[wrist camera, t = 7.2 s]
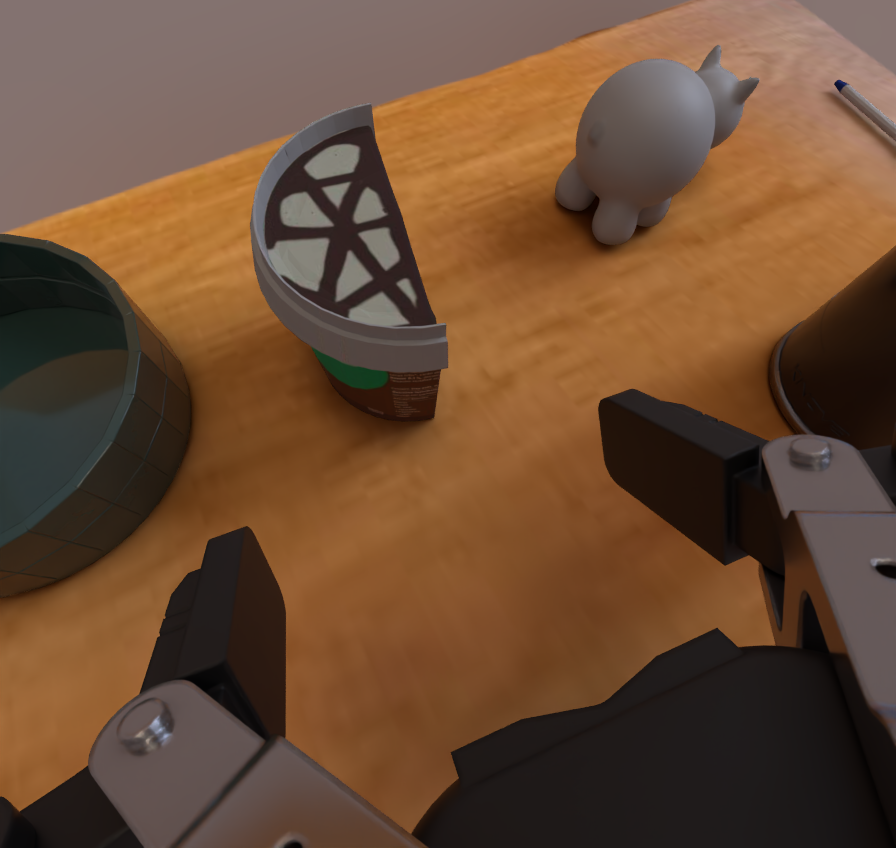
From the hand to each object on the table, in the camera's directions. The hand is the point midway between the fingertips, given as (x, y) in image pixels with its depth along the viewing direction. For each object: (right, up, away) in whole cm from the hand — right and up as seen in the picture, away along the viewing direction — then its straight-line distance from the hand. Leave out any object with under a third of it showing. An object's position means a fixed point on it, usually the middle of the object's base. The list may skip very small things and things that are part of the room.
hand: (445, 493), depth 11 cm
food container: (-5, +5, +17) cm, 18 cm away
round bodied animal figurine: (+13, +17, +22) cm, 31 cm away
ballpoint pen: (+32, +23, +26) cm, 46 cm away
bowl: (-21, +1, +14) cm, 25 cm away
